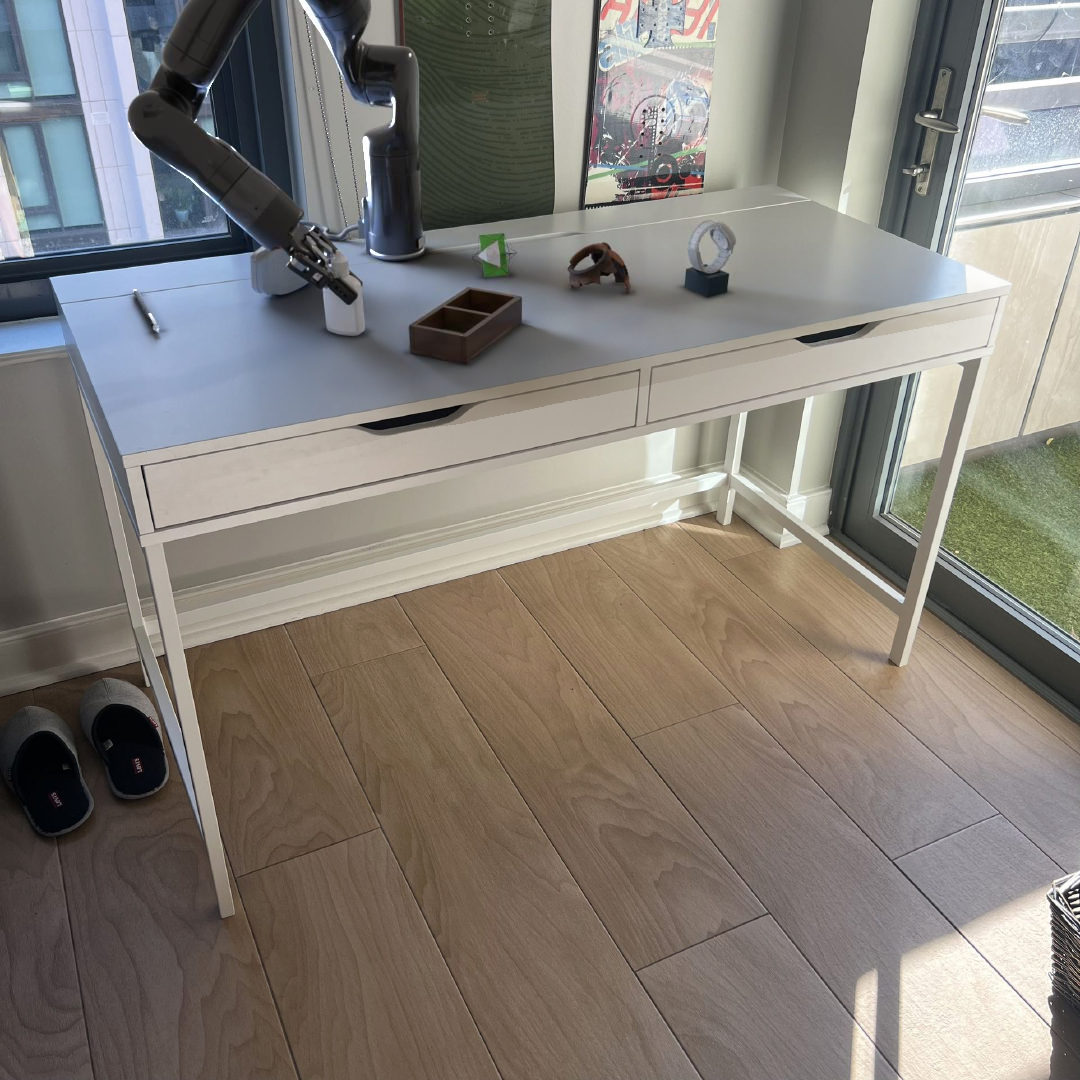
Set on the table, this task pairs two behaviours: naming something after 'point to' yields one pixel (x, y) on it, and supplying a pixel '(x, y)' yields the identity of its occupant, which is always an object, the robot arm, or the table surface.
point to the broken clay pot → (598, 266)
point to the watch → (710, 276)
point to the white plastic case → (273, 272)
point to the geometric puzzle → (493, 255)
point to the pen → (146, 310)
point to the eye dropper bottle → (338, 312)
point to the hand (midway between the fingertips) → (356, 294)
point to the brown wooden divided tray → (465, 325)
